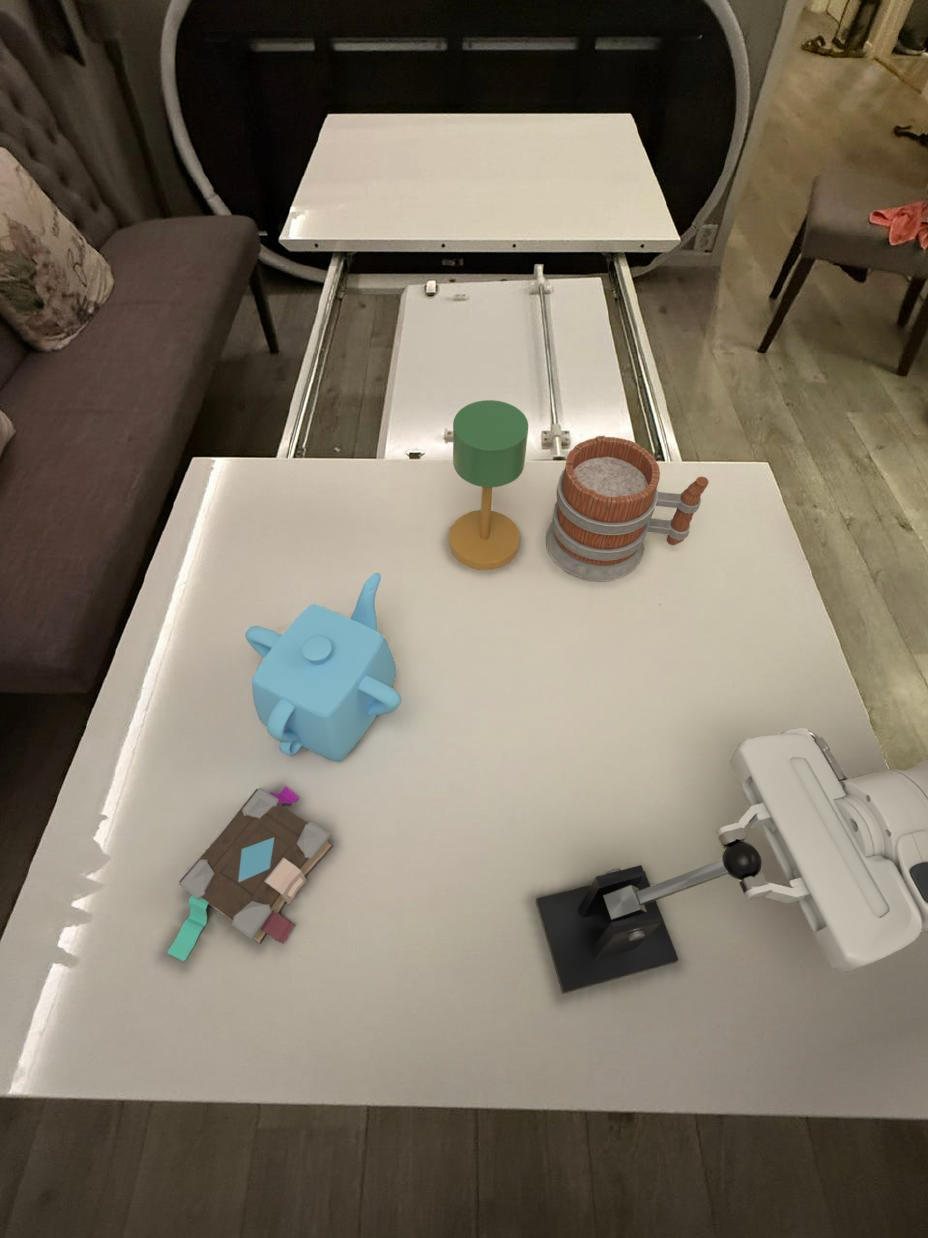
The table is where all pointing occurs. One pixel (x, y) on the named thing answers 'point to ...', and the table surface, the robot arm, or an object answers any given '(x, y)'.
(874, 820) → the robot arm
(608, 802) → the table surface
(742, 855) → the lever
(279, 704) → the teapot
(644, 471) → the mug
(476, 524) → the lamp
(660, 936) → the switch bracket
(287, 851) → the book
